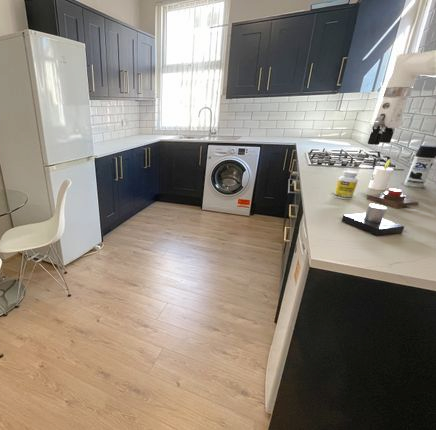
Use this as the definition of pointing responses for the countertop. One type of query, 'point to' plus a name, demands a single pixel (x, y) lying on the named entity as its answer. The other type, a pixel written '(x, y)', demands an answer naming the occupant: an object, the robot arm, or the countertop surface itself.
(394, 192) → the button
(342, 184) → the pill bottle
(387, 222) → the panel
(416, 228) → the countertop surface
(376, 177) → the candle
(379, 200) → the button housing
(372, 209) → the knob
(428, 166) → the spray can
